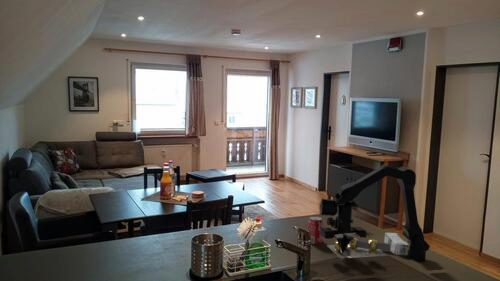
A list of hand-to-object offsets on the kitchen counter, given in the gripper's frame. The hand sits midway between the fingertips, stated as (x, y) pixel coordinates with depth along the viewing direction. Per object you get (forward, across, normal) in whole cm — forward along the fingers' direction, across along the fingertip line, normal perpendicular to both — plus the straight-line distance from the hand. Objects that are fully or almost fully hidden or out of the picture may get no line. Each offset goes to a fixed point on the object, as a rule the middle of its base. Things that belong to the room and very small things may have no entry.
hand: (341, 252), depth 154 cm
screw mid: (+1, -11, -6) cm, 13 cm away
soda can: (+3, +5, -17) cm, 18 cm away
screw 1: (+1, -2, -3) cm, 3 cm away
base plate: (+2, -9, -4) cm, 11 cm away
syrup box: (-1, -30, -12) cm, 32 cm away
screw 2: (+1, -19, -4) cm, 20 cm away
